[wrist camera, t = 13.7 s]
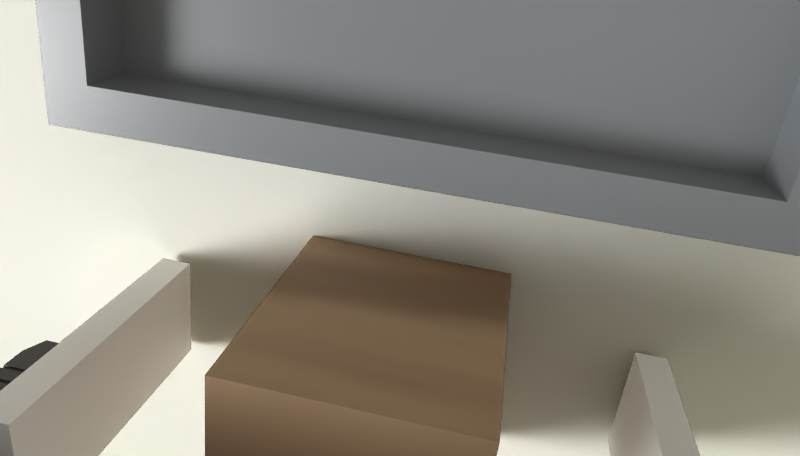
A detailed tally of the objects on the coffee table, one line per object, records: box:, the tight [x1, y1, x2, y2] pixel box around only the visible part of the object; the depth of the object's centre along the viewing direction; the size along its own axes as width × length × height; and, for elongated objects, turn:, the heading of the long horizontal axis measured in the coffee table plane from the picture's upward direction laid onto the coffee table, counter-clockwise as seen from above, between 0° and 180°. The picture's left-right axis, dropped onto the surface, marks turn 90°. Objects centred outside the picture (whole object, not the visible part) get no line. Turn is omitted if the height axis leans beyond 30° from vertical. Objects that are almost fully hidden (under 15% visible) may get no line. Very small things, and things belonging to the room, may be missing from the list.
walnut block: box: [205, 236, 511, 456], centre depth 14 cm, size 5×5×6 cm
